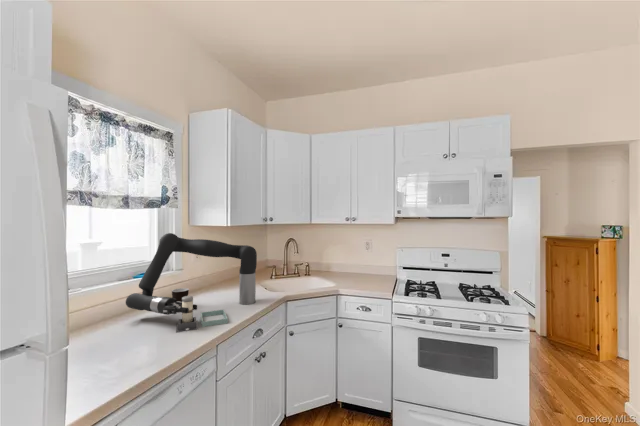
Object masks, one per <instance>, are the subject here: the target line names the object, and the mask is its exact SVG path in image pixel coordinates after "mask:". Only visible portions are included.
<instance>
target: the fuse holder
mask: <svg viewBox="0 0 640 426" xmlns="http://www.w3.org/2000/svg"><path fill="white" fill-rule="evenodd" d="M175 325H176V326H175V327H176V328H175V333H184V332H189V331H190V332H191V331H197V330H199V321H198V320H197V317H196V316H193V322H188V323H182V318H179V319H178V323H176V324H175Z"/></svg>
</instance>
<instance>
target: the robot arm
mask: <svg viewBox="0 0 640 426" xmlns="http://www.w3.org/2000/svg"><path fill="white" fill-rule="evenodd" d="M177 252H178V253H188V254H192V255H197V256H203V257H208V258H234V259H238V260H240V267H239V272H238V273H239V281H238V282H239V286H238V287H239V291H238V293H239V298H238V299H239V301H238V302H239V304H241V305H253V304H255V303H256V275H257V274H256V269H257V262H258V260H257V258H258V257H257V255H258V253H257V251H256V248H255V247H253V246H251V245H247V244H246V245H241V244H230V243H226V242H223V241H217V240H212V239H203V238H202V239H201V238H200V239H199V238H198V239H197V238H196V239H191V238H190V239H189V238H184V237H183V238H182V237H179V236H178V235H176V234H175V233H170V232H169V233H165V234H162V236H161V237H160V239H159V244H158V247H157V249H156V252H155V255H154V256H153V258H152V260H151V262H150V263H149V265H148V267H147V269H146V270H145V272H144V274H143V276H142V278H141V280H139V284H138V288H139V289H140V290H141V291H142V293H137V292H136V293H135V292H134V293H131V294H129V295H127V297H126V299H125V305H126V307H127V308H129V309H133V310H138V311H147V312H153V313H157V314H160V315H161V314H162V315H168V316H169V315H176V314H182V313H188V312H189V309H188V308H185V307H182V302H180V301H176V299H175V298H172V297H171V296H170V297H169V296H163V295H162V296H157V295H153V294H154V289H155V287H156V285H157V283H158V281H159V279H160V277H161V275H162V272H163V269H164V268H165V267H166V263H167V261H168V259H169V258H170V257H171V255H172V254H173V253H177ZM195 310H198V305H197V304H196V303H195V304H194V303H193V311H195Z"/></svg>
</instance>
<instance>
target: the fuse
mask: <svg viewBox="0 0 640 426" xmlns="http://www.w3.org/2000/svg"><path fill="white" fill-rule="evenodd" d="M193 304H194V295H188V296H184V297H182V307H185V308H188V309H189V312H188V313H181V319H182V323H188V322H193V317H194V315H193V314H194V310H193Z"/></svg>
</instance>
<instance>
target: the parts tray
mask: <svg viewBox="0 0 640 426" xmlns="http://www.w3.org/2000/svg"><path fill="white" fill-rule="evenodd" d="M218 315H219V316H220V315H222V316H223V318H221V319H220V318H219V319H212V320H205V321H204V319H203V318H204V317H210V316H218ZM228 320H229V319H228V316H227V314H226V311H225V309H218V310H211V311H203V312H202V311H201V312H200V323H201V327H202V328H203V327H212V326H217V325H223V324H228Z"/></svg>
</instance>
